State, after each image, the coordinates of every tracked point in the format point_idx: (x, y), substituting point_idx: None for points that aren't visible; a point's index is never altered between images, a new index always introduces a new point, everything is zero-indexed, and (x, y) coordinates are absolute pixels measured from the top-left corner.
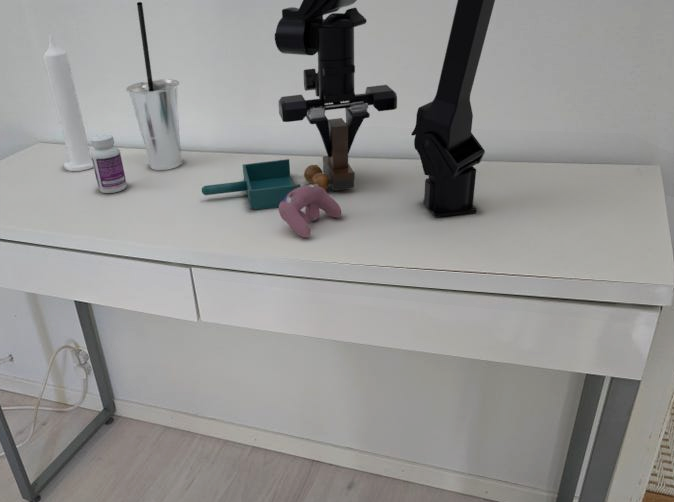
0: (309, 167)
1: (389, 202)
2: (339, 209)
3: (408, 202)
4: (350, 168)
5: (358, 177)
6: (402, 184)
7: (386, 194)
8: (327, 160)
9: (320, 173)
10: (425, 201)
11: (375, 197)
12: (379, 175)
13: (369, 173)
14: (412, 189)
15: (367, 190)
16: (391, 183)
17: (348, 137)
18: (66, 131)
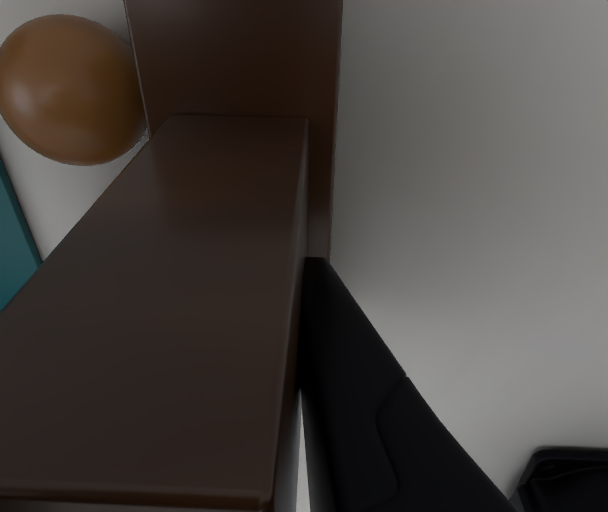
0: (20, 133)
1: None
2: None
3: (493, 426)
4: None
5: (427, 75)
6: (597, 273)
7: (456, 349)
8: (165, 113)
9: None
10: (516, 508)
11: (398, 361)
12: (576, 89)
13: (538, 15)
14: (593, 338)
15: (395, 287)
16: (556, 243)
17: (310, 500)
18: None
